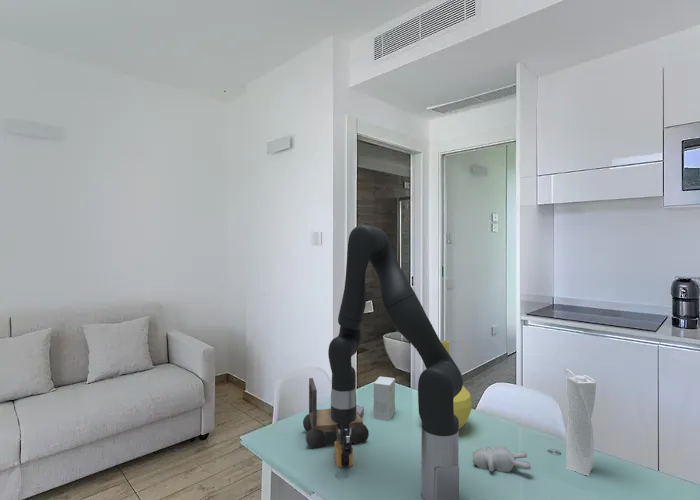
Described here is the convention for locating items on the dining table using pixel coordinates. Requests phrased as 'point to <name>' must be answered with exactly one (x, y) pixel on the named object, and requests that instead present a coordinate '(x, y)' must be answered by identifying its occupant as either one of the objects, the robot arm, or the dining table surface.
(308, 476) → the dining table surface
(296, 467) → the dining table surface
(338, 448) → the block
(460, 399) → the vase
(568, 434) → the skyscraper
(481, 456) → the bunny figurine
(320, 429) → the trolley
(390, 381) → the small box
